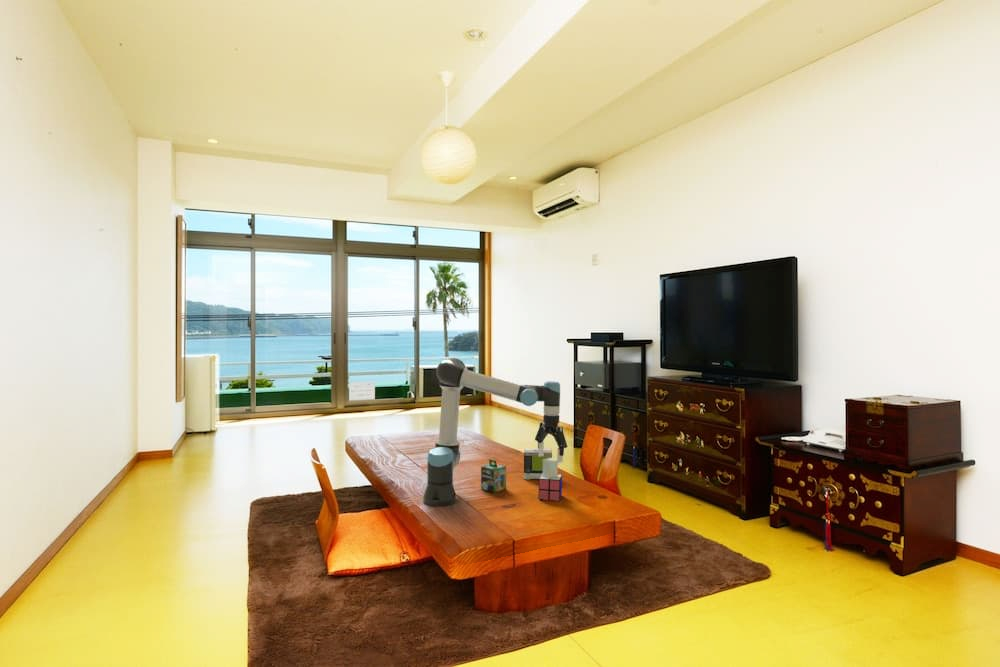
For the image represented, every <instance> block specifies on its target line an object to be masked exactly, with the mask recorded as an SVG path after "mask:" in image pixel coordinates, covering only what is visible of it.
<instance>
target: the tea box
mask: <svg viewBox="0 0 1000 667" xmlns="http://www.w3.org/2000/svg"><path fill="white" fill-rule="evenodd" d="M548 458H552V459H553V449H552V448H544V456H541V457H539V456H538V448H524V452H523V480H530V479H539V478H540V476H541V474H542V473H543V459H548Z"/></svg>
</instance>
